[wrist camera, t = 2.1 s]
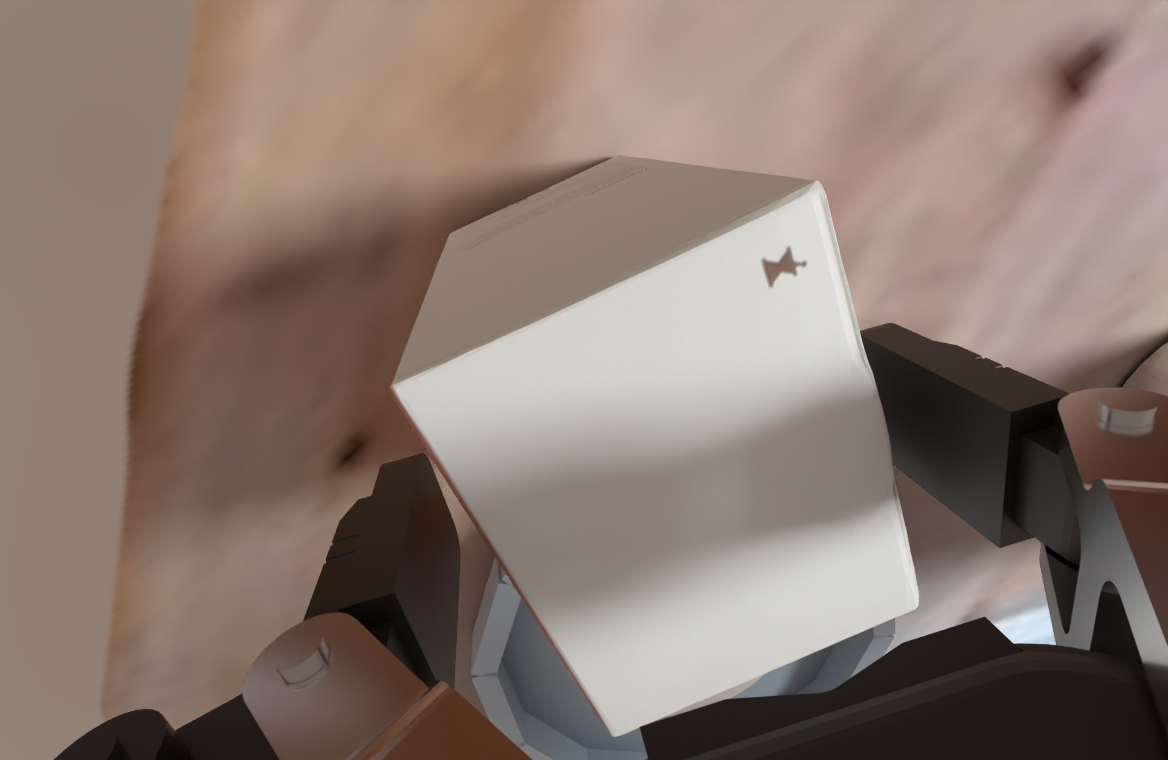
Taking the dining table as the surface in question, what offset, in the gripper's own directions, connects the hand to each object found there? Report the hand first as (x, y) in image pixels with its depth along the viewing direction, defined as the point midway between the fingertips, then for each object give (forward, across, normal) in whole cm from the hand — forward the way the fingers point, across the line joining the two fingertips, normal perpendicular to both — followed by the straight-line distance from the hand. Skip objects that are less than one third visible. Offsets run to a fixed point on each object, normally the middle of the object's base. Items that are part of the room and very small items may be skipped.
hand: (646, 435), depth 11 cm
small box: (+11, 0, 0) cm, 11 cm away
